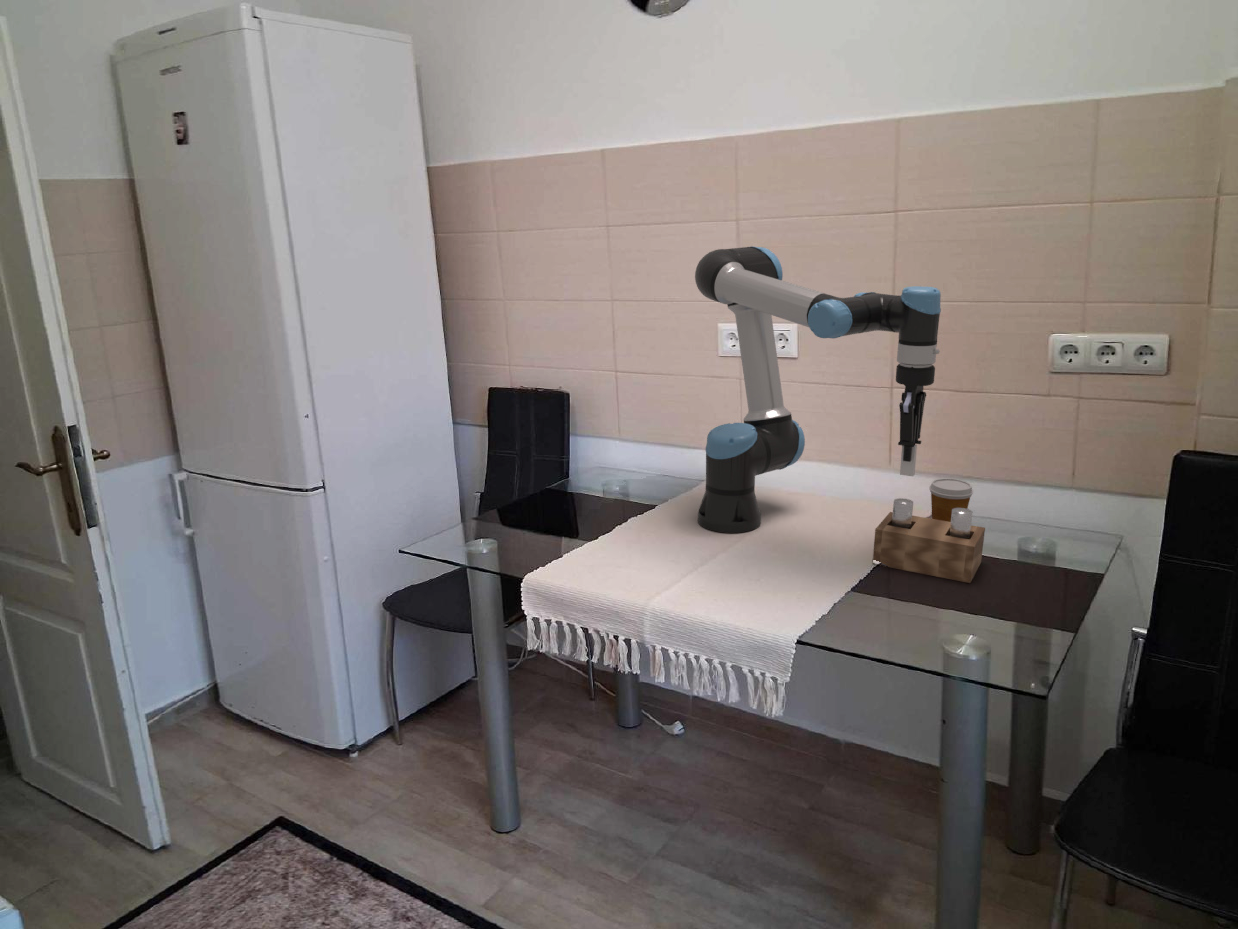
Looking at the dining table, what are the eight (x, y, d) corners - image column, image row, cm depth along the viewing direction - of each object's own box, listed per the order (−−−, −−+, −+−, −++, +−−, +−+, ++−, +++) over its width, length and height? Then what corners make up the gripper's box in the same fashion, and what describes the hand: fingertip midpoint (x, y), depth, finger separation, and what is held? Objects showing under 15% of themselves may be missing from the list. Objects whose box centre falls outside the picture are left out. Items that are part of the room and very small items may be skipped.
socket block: (872, 563, 195) (875, 529, 193) (887, 545, 205) (890, 511, 203) (970, 583, 185) (974, 546, 183) (980, 562, 195) (985, 527, 193)
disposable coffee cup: (966, 527, 215) (971, 479, 211) (970, 542, 206) (975, 492, 202) (924, 524, 217) (928, 476, 214) (925, 538, 208) (930, 489, 205)
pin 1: (888, 535, 196) (891, 502, 194) (893, 529, 199) (896, 497, 197) (907, 538, 194) (910, 505, 192) (912, 532, 197) (915, 500, 195)
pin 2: (946, 545, 190) (950, 512, 188) (950, 539, 193) (954, 506, 191) (966, 549, 188) (970, 515, 186) (970, 542, 191) (974, 509, 189)
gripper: (927, 371, 178) (918, 485, 185) (941, 360, 189) (932, 468, 196) (889, 368, 182) (881, 480, 189) (905, 357, 192) (897, 464, 199)
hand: (907, 474), depth 192 cm, fingers closed
